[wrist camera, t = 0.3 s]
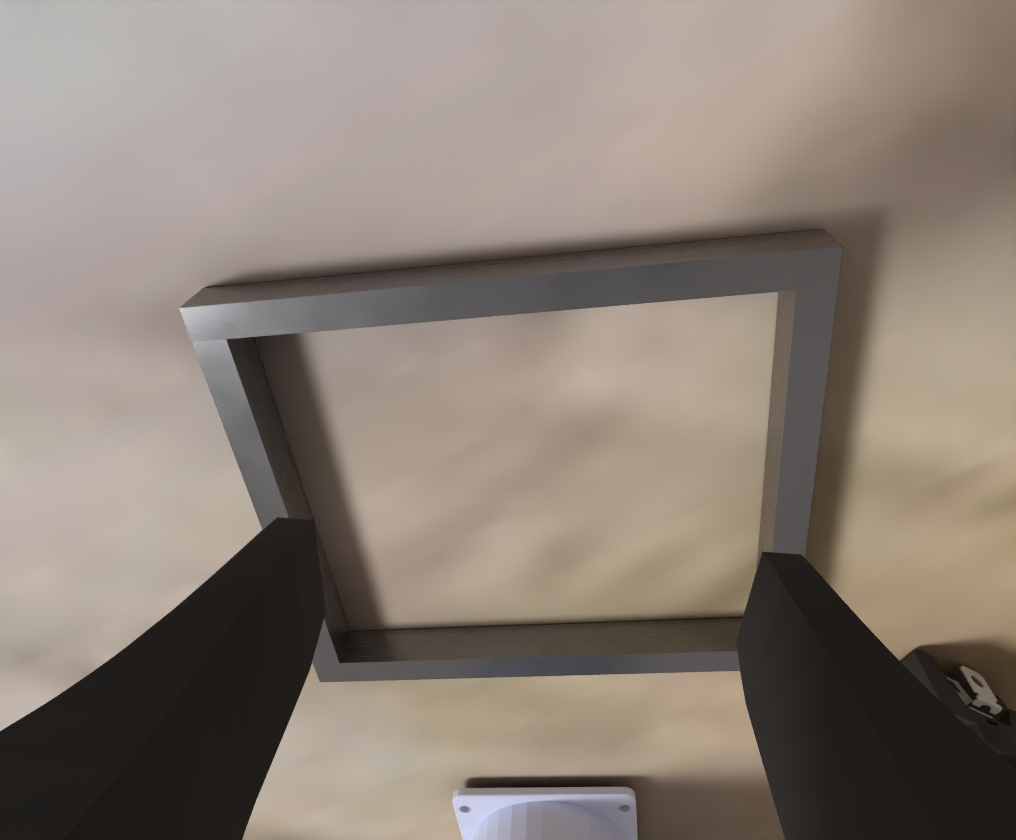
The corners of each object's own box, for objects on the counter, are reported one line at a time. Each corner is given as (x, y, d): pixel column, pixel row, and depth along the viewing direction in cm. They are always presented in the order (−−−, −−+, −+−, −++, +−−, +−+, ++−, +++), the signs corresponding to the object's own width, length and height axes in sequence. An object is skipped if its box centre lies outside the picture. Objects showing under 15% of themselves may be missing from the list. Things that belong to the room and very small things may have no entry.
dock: (779, 635, 26) (791, 669, 25) (331, 650, 28) (320, 682, 27) (823, 228, 18) (842, 247, 17) (202, 288, 20) (179, 308, 19)
